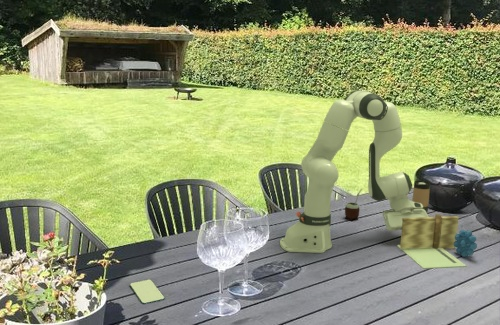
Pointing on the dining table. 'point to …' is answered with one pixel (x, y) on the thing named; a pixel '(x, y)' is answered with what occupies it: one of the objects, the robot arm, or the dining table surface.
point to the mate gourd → (352, 210)
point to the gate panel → (417, 232)
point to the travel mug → (421, 193)
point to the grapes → (465, 243)
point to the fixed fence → (445, 231)
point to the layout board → (432, 257)
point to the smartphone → (146, 291)
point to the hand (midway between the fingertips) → (413, 237)
